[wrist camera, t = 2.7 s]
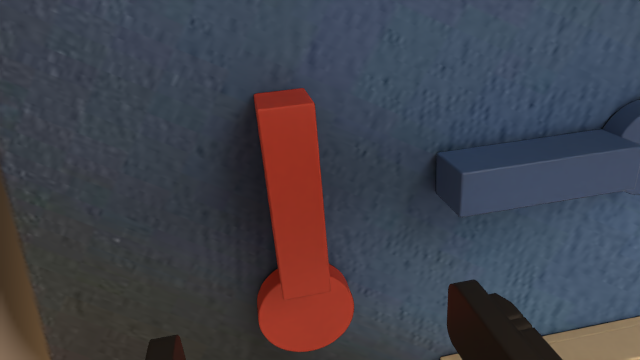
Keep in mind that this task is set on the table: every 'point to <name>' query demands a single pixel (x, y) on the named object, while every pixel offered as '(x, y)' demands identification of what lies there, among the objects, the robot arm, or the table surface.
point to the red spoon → (297, 230)
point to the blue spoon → (543, 168)
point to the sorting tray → (595, 342)
